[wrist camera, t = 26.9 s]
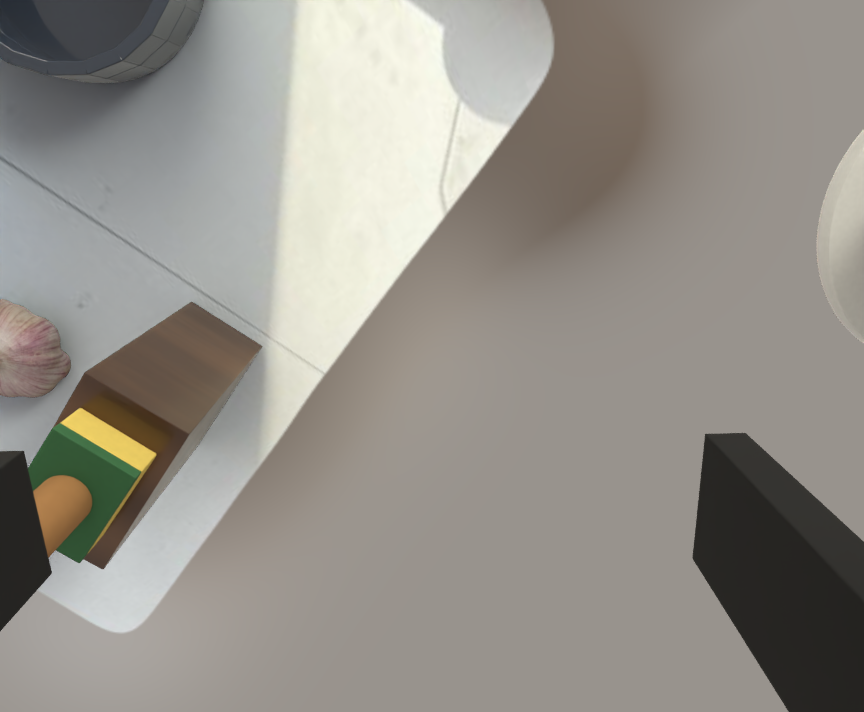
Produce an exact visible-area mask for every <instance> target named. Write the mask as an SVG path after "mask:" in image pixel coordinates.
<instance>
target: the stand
mask: <svg viewBox="0 0 864 712" xmlns="http://www.w3.org/2000/svg"><path fill="white" fill-rule="evenodd" d="M261 348H262V346H261V345H259V344H258V343H256V342H255V341H253V340H252V339H250V338H248V337H247V336H245V335H244V334H242V333H240V332H239V331H237V330H236V329H234V328H233V327H231V326H229V325H228V324H226V323H225V322H223V321H221V320H220V319H218V318H217V317H215V316H214V315H212V314H210V313H209V312H207V311H206V310H204V309H202V308H201V307H199V306H198V305H196V304H195V303H193V302H190V303H189V304H187V305H186V306H184V307H183V308H181V309H180V310H178V311H177V312H175V313H174V314H172V315H171V316H169V317H168V318H166V319H165V320H163V321H162V322H160V323H159V324H157V325H156V326H154V327H153V328H151V329H150V330H148V331H147V332H145V333H144V334H142V335H141V336H139V337H138V338H136V339H135V340H133V341H132V342H130V343H129V344H127V345H126V346H124V347H123V348H121V349H120V350H118V351H117V352H115V353H113V354H112V355H110V356H109V357H107V358H106V359H104V360H103V361H101V362H100V363H98V364H97V365H95V366H94V367H92V368H91V369H89V370H88V371H86V372H85V373H84V375H83V376H82V378H81V380H80V382H79V383H78V385H77V387H76V389H75V390H74V392H73V394H72V396H71V397H70V399H69V401H68V403H67V404H66V406H65V408H64V410H63V411H62V413H61V415H60V417H59V418H58V420H57V422H56V424H55V425H54V427H55V426H56V425H58V424H59V423H61V422H62V421H63V420H64V419H66V418H67V417H68V416H70V415H71V414H72V413H74V412H75V411H76V410H78V409H79V408H82V409H84V410H85V411H87V412H89V413H90V414H92V415H94V416H95V417H97V418H98V419H100V420H102V421H103V422H105V423H107V424H108V425H110V426H112V427H113V428H115V429H117V430H118V431H120V432H122V433H123V434H125V435H126V436H128V437H130V438H131V439H133V440H135V441H136V442H138V443H140V444H141V445H143V446H145V447H146V448H148V449H150V450H151V451H153V452H155V453H156V454H157V455H156V457H155V459H154V460H153V462H152V463H151V465H150V466H149V468H148V469H147V471H146V472H145V474H144V475H143V477H142V478H141V480H140V481H139V483H138V484H137V486H136V487H135V489H134V490H133V491H132V493H131V494H130V496H129V497H128V499H127V500H126V502H125V503H124V505H123V506H122V508H121V509H120V511H119V512H118V514H117V515H116V517H115V518H114V520H113V521H112V523H111V524H110V526H109V527H108V529H107V530H106V532H105V533H104V535H103V536H102V537H101V538H100V540H99V541H98V542H97V543H96V544H95V546H94V547H93V548H92V549H91V550H90V552H89V553H88V554H87V555H86V556H85V558H84V560H86V561H88V562H90V563H92V564H94V565H95V566H97V567H99V568H101V569H104V568H105V567H106V565H107V564H108V563H109V561H110V560H111V559H112V557H113V556H114V555H115V554H116V552H117V551H118V550H119V548H120V547H121V546H122V544H123V543H124V542H125V541H126V539H127V538H128V537H129V535H130V534H131V533H132V531H133V530H134V529H135V527H136V526H137V525H138V524H139V522H140V521H141V520H142V518H143V517H144V516H145V514H146V513H147V512H148V510H149V509H150V508H151V507H152V505H153V504H154V503H155V501H156V500H157V499H158V497H159V496H160V495H161V494H162V492H163V491H164V490H165V488H166V487H167V486H168V484H169V483H170V482H171V480H172V479H173V478H174V477H175V475H176V474H177V473H178V471H179V470H180V469H181V467H182V466H183V465H184V463H185V462H186V461H187V460H188V458H189V457H190V456H191V454H192V453H193V452H194V450H195V449H196V448H197V447H198V445H199V443H200V442H201V440H202V439H203V437H204V436H205V434H206V433H207V431H208V430H209V428H210V426H211V425H212V423H213V422H214V420H215V419H216V417H217V416H218V414H219V413H220V411H221V409H222V408H223V406H224V405H225V403H226V402H227V400H228V399H229V397H230V396H231V394H232V392H233V391H234V389H235V388H236V386H237V385H238V383H239V382H240V380H241V379H242V377H243V375H244V374H245V372H246V371H247V369H248V368H249V366H250V365H251V363H252V362H253V360H254V358H255V357H256V355H257V354H258V352H259V351H260V349H261ZM54 427H53V428H54Z"/></svg>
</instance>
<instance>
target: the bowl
mask: <svg viewBox="0 0 864 712" xmlns="http://www.w3.org/2000/svg"><path fill="white" fill-rule="evenodd" d="M203 2H204V0H0V58H1V59H3V60H4V61H6V62H7V63H10V64H12V65H15V66H19V67H22V68H25V69H28V70H31V71H35V72H38V73H41V74H44V75H48V76H53V77H59V78H64V79H70V80H75V81H81V82H86V83H119V82H126V81H130V80H134V79H138V78H140V77H143V76H145V75H148V74H150V73H152V72H154V71H155V70H157V69H159V68H160V67H162V66H163V65H165V64H166V63H167V62H168V61H169V60H171V59H172V58H173V57H174V56H175V55H176V54H177V53H178V52H179V50H180V49H181V48H182V47H183V46H184V44H185V43H186V41H187V40H188V38H189V37H190V35H191V34H192V32H193V30H194V28H195V25H196V23H197V21H198V19H199V16H200V13H201V10H202V7H203Z"/></svg>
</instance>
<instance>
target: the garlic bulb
mask: <svg viewBox="0 0 864 712" xmlns="http://www.w3.org/2000/svg"><path fill="white" fill-rule="evenodd" d="M70 368H71V362H70V358H69V356H68V355H67V354H66V353H65V352H64V351H63V350H62V349H61V347H60V335H59V333H58V330H57V329H56V327H55V326H54V325H53V324H52V323H51V322H50V321H48V320H47V319H45V318H42V317H39V316H36V315H34V314H32V313H31V312H30V311H29V310H28V309H27V308H25V307H23V306H21V305H17V304H13V303H11V302H9V301H7V300H4V299H0V395H2V396H7V397H18V396H24V397H40V396H43V395H45V394H47V393H48V392H50V391H51V390H52V389H53V388H54V387H55V386H56V384H57V383H58V382H59V381H60V380H62V379H63V378H64V377H66V375H67V374H68V373H69V371H70Z"/></svg>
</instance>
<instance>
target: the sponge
mask: <svg viewBox="0 0 864 712" xmlns="http://www.w3.org/2000/svg"><path fill="white" fill-rule="evenodd" d="M156 455H157V454H156V453H155V452H153V451H151V450H150V449H148V448H146V447H145V446H143V445H141V444H140V443H138V442H136V441H135V440H133V439H131V438H130V437H128V436H126V435H125V434H123V433H122V432H120V431H118V430H117V429H115V428H113V427H112V426H110V425H108V424H107V423H105V422H103V421H102V420H100V419H98V418H97V417H95V416H94V415H92V414H90V413H89V412H87V411H85V410H84V409H82V408H79V409H78V410H76V411H75V412H74V413H72V414H71V415H70V416H68V417H67V418H66V419H64V420H63V421H62V422H61V423H59V424H58V425H56V426H55V427H54V428H52V430H51V432H50V433H49V435H48V436H47V438H46V440H45V441H44V443H43V445H42V446H41V448H40V450H39V451H38V453H37V455H36V456H35V458H34V459H33V461H32V463H31V464H30V466H29V468H28V472H29V476H30V480H31V485H32V489H33V493H34V498H35V502H36V506H37V511H38V515H39V519H40V524H41V528H42V532H43V537H44V541H45V545H46V550H47V554H48V558H49V557H50V555H51V554H52V553H53V552H54V551H55V550H56V551H58V552H60V553H62V554H63V555H65V556H67V557H69V558H71V559H72V560H74V561H76V562H78V563H80V562H81V561H82V560H83V559H84V558H85V556H86V555H87V554H88V553H89V552H90V550H91V549H92V548H93V547H94V546H95V544H96V543H97V542H98V541H99V540H100V538H101V537H102V536H103V535H104V533H105V532H106V530H107V529H108V527H109V526H110V524H111V523H112V521H113V520H114V518H115V517H116V515H117V514H118V512H119V511H120V509H121V508H122V506H123V505H124V503H125V502H126V500H127V499H128V497H129V496H130V494H131V493H132V491H133V490H134V489H135V487H136V486H137V484H138V483H139V481H140V480H141V478H142V477H143V475H144V474H145V472H146V471H147V469H148V468H149V466H150V465H151V463H152V462H153V460H154V459H155V457H156Z"/></svg>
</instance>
